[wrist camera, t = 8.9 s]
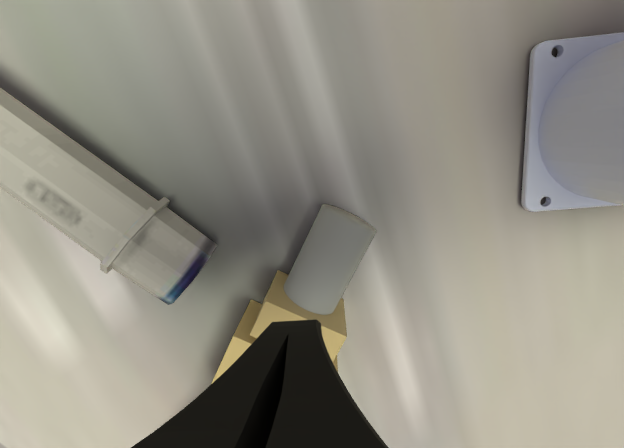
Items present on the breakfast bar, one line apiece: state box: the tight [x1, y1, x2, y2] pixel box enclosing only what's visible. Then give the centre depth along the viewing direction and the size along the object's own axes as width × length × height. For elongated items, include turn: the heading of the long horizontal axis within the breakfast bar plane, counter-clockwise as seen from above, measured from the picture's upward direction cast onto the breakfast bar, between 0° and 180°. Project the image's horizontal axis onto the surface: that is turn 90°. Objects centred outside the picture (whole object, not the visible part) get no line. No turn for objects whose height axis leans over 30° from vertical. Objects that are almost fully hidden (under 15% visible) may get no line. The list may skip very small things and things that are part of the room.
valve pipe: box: [212, 204, 376, 383], centre depth 19 cm, size 20×6×4 cm, turn 155°
